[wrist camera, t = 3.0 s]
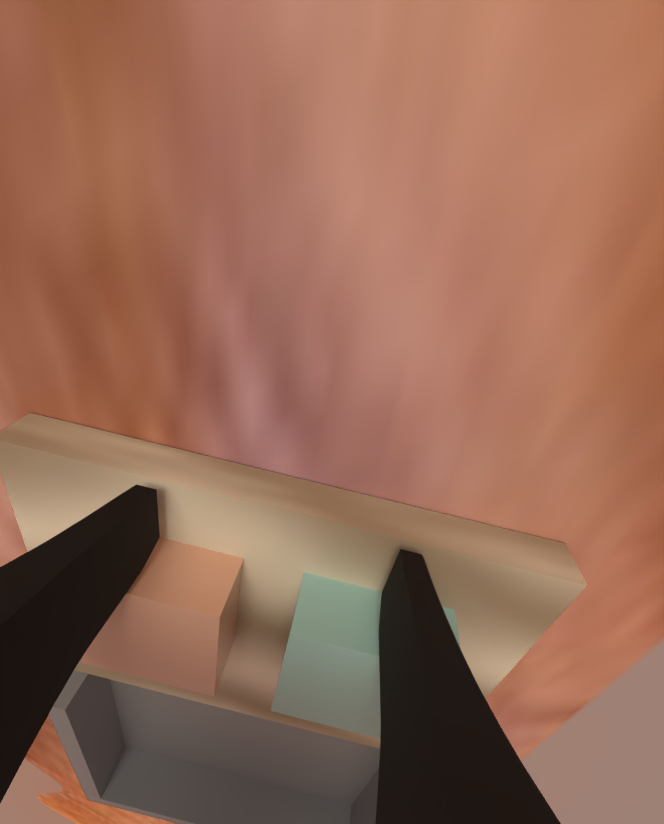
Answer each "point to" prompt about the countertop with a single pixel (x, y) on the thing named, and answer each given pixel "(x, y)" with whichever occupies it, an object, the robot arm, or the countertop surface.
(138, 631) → the terracotta tile
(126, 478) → the wooden plank
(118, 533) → the robot arm
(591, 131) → the countertop surface
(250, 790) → the tray
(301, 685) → the teal tile
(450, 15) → the countertop surface
